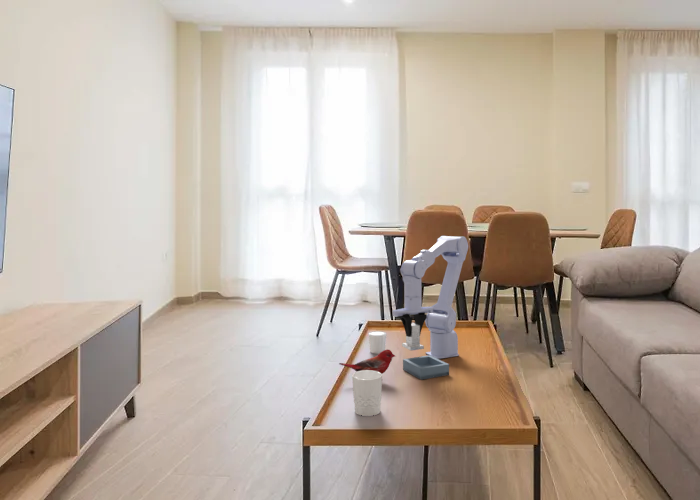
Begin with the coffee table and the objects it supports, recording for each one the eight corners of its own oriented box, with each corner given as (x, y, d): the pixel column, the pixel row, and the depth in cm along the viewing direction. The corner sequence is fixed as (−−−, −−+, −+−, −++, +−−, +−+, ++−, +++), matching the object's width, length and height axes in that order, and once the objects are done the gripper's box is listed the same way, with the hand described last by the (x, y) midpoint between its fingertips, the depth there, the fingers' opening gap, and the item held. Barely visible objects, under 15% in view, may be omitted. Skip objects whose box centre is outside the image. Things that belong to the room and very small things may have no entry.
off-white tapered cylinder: (385, 354, 189) (385, 335, 188) (367, 353, 190) (366, 335, 190) (387, 349, 196) (387, 331, 195) (370, 348, 197) (369, 330, 197)
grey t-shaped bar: (414, 344, 178) (414, 321, 177) (423, 348, 173) (423, 325, 172) (402, 346, 176) (402, 323, 176) (410, 350, 171) (410, 327, 170)
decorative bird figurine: (396, 382, 159) (396, 350, 158) (339, 384, 157) (338, 352, 157) (395, 379, 161) (394, 348, 161) (338, 381, 160) (338, 349, 159)
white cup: (351, 406, 140) (350, 370, 139) (380, 405, 140) (379, 369, 140) (354, 418, 132) (353, 380, 131) (384, 416, 133) (384, 379, 132)
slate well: (429, 365, 175) (429, 355, 175) (449, 374, 165) (449, 364, 164) (403, 369, 171) (402, 359, 171) (421, 379, 160) (421, 368, 160)
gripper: (425, 292, 179) (425, 330, 180) (388, 295, 174) (388, 335, 175) (436, 295, 173) (436, 335, 174) (398, 299, 167) (398, 340, 168)
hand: (413, 335), depth 174 cm, fingers closed on grey t-shaped bar, 3 cm apart
